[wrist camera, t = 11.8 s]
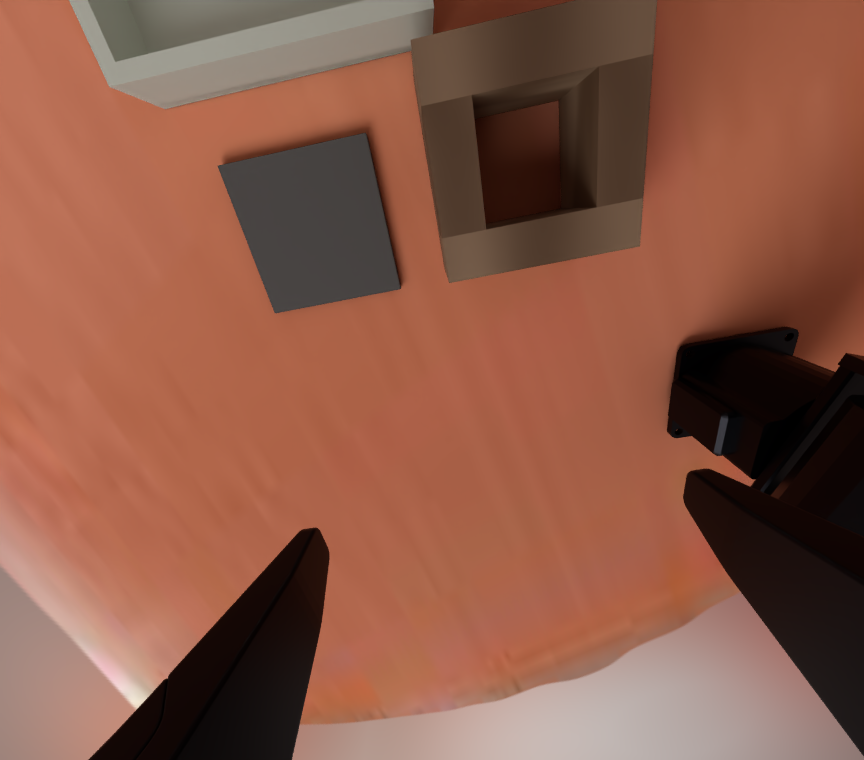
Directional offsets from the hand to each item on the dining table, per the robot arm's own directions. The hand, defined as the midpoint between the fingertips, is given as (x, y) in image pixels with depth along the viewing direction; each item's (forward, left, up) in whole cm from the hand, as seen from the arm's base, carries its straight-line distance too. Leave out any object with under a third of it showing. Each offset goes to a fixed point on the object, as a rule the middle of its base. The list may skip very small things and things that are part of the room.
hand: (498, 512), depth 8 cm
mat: (+6, -7, -13) cm, 16 cm away
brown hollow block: (-4, -8, -13) cm, 16 cm away
